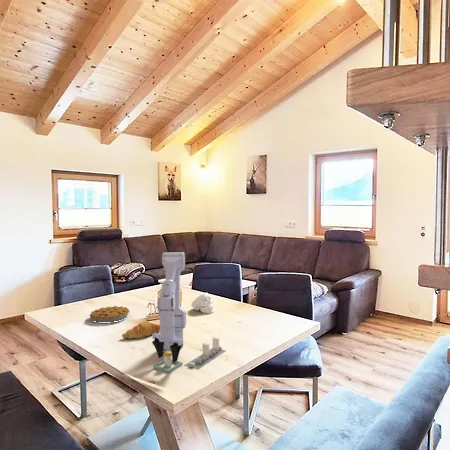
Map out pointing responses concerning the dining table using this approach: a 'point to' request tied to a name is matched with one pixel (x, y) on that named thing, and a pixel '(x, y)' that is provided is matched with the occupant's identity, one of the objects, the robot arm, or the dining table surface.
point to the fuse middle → (206, 350)
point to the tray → (165, 368)
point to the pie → (109, 314)
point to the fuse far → (216, 344)
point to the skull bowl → (203, 303)
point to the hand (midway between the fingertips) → (167, 359)
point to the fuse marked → (167, 359)
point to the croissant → (142, 330)
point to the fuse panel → (204, 359)
